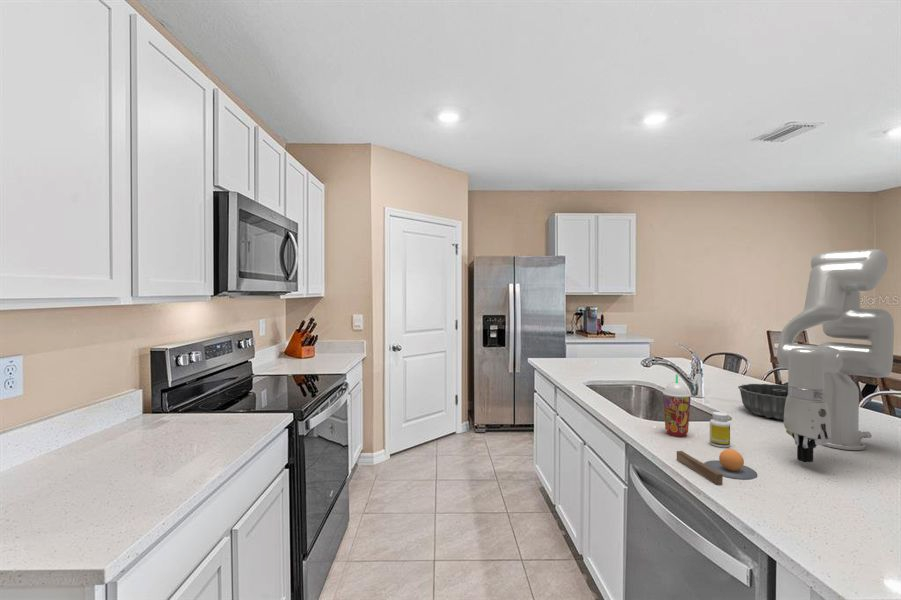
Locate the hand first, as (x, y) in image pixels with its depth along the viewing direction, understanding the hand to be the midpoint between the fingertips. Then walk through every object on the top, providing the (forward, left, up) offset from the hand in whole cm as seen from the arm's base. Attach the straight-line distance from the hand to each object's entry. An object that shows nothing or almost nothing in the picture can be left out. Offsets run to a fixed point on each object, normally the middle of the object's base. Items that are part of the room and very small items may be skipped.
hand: (805, 460), depth 117 cm
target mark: (+22, 0, -2) cm, 22 cm away
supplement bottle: (+11, -18, -2) cm, 21 cm away
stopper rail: (+31, 0, -2) cm, 31 cm away
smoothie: (+18, -29, -2) cm, 34 cm away
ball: (+22, 0, +1) cm, 22 cm away
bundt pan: (-35, -46, -2) cm, 58 cm away
